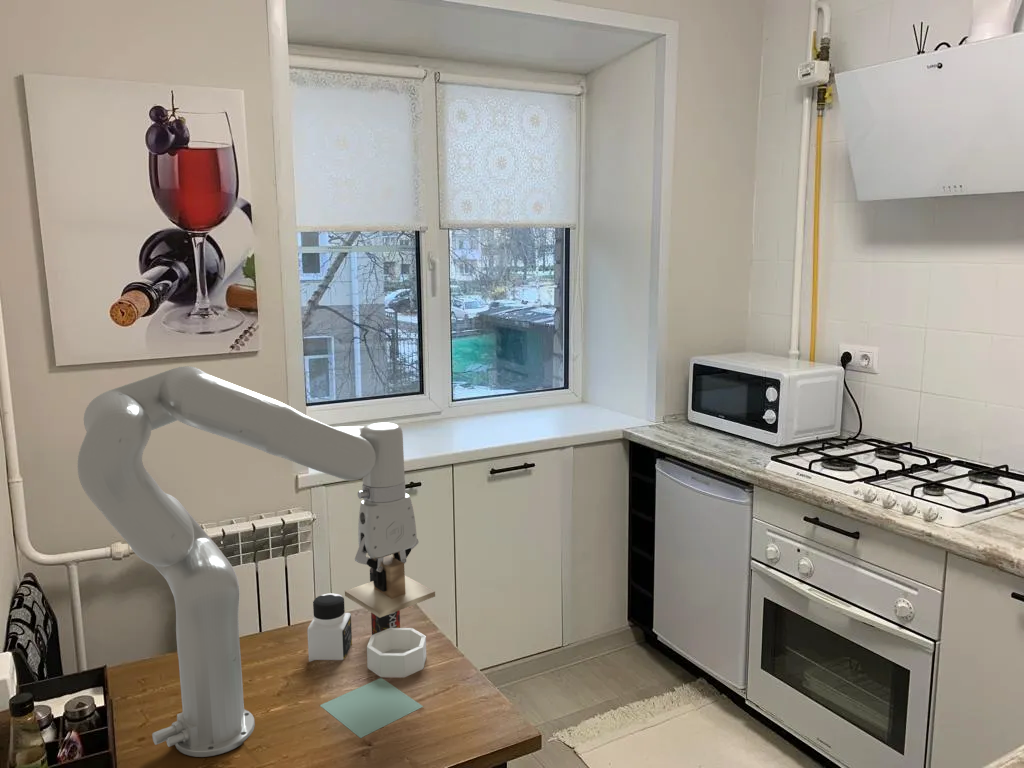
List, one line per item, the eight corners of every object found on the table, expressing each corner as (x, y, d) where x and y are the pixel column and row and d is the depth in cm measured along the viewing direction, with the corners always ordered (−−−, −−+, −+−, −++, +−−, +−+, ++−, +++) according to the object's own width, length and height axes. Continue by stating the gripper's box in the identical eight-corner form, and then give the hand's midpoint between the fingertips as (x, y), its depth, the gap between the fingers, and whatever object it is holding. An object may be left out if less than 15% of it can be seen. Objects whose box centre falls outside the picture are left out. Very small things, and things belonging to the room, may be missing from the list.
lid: (379, 617, 136) (377, 580, 135) (345, 595, 145) (342, 560, 144) (435, 596, 144) (433, 560, 143) (399, 576, 153) (397, 543, 152)
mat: (360, 741, 129) (360, 737, 129) (319, 708, 138) (319, 705, 138) (423, 709, 137) (423, 706, 137) (381, 680, 147) (381, 677, 147)
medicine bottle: (344, 662, 153) (342, 605, 151) (308, 662, 153) (305, 605, 151) (352, 644, 160) (350, 589, 158) (318, 644, 160) (315, 589, 158)
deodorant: (384, 627, 168) (382, 561, 165) (406, 634, 164) (404, 567, 162) (365, 638, 162) (363, 571, 160) (388, 646, 159) (386, 577, 157)
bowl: (390, 686, 145) (389, 661, 144) (358, 664, 152) (357, 640, 152) (436, 665, 152) (435, 641, 151) (403, 645, 160) (402, 622, 159)
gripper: (355, 506, 133) (361, 607, 136) (433, 485, 144) (437, 579, 147) (333, 496, 138) (339, 593, 142) (410, 477, 149) (414, 567, 152)
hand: (389, 585), depth 144 cm, fingers closed on lid, 3 cm apart
